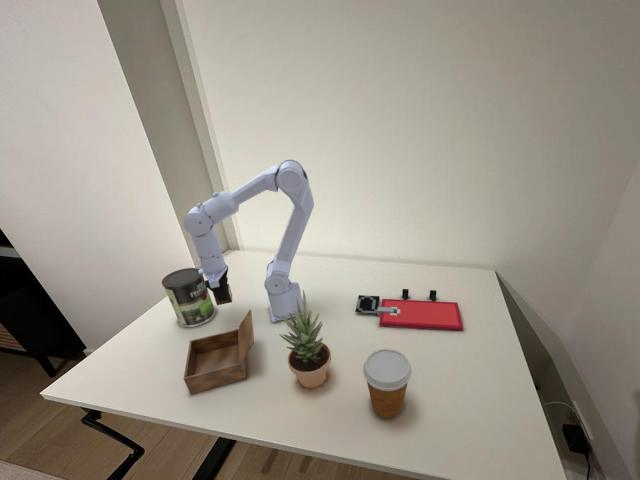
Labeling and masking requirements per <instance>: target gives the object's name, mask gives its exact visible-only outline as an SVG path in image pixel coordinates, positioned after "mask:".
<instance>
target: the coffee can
mask: <svg viewBox="0 0 640 480" xmlns="http://www.w3.org/2000/svg"><path fill="white" fill-rule="evenodd" d="M199 269H200V268H198V267H186V268H181V269H177V270H174V271H172V272H171V273H168V274H167V275H166V276H164V277H163V278H162V280H161V285H162V287H163V289H164V290H165V292H166V293H165V294H166V295H167V297H168V299H169V302H170V304H171V306H172V309H173V311H174V313H175V316H176V318H177V320H178V324H179V325H180V326H181V327H184V328H194V327H195V328H196V327H199V326H202V325H204V324H206V323H208V322H209V321H211V320H212V319H213V318H214V317H215V315H216V309H215V306H214V304H213V301H212V298H211V295H210V291H209V289H208V288H207V287H206V286H205V281H206V280H205V276H204V274H199V272H198V271H199Z"/></svg>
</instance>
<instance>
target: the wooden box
mask: <svg viewBox="0 0 640 480" xmlns="http://www.w3.org/2000/svg"><path fill="white" fill-rule="evenodd" d="M243 380H247V367H246V356H245V357H244V359H243V360H242V362H241V361H240V346H239V328H236V329H232V330H228V331H223V332H220V333H216V334H212V335H208V336H204V337H199V338H195V339H190V340H189V344H188V349H187V356H186V362H185V368H184V374H183V381H184V383H185V385H186V388H187V389H188V392H189V394H190V395H194V394H197V393H202V392H204V391H208V390H212V389H215V388H219V387H222V386H226V385H229V384H233V383H236V382H239V381H243Z"/></svg>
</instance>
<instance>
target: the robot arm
mask: <svg viewBox="0 0 640 480" xmlns="http://www.w3.org/2000/svg"><path fill="white" fill-rule="evenodd" d="M310 185H311V184H310V181H309V177H308V173H307V171H305V169H304V167H303V166H302V164H301V163H300V162H299V161H297V160H295V159H292V158H289V159H285V160H283V161H282V162H280V164H279V163H277V164H275V165H272V166H271V167H269V168H267V169H265V170H263V171H262V172H260V173H259V174H258V175H256V176H254V177H253V178H251V179H250V180H249V181H247V182H246V183H244V184H242V185H241V186H240V187H238V188H236V189H234V190H233V191H231V192H230V191H226V190H222V191H221V192H219V191H215V192H214V193H213V194H212V197H211V198H209V199H208V200H206V201H204V202H199V203H197V204H196V206H193V208H191V209H190V210H189V211H188V213H187V214H186V215H185V216H184V218H183V221H182V224H183V228H184V229H185V231H186V232H187V233H189V234H190V236H191V240H192V243H193V245H194V248H195V252H196V255H197V257H198V260H199V263H200V266H201V268H198V269H199V271H198V272H199V274H203V276H204V278H206V280H205V286H206V287H207V289H208V290H209V291H211V292H212V294H213V293H214V295H215V296H216V298H217V299H218V300H219V302H222V301H226V300H227V289H226V286H227V284H228V282H229V278H228V272H229V265H227V264H226V261H225V258H224V255H223V251H222V248H221V244H220V241H219V238H218V235H217V232H216V229H215V226H216V225H218V224H220V223H221V222H223V221H225V220H227V219H228V218H230V217H232V216H234V215H235V214H237V213H238V212H239V210H240V205H241V204H243V203H245V202H247V201H249V200H250V199H252V198H254V197H257V196H258V195H260V194H261V193H264V192H265V191H269V192H273V193H278V192H279V190H280V191H281V192H282V193H283V194H285V195H286V196H287V197H288V198H289V200H290V201H291V203H292V205H293V207H292V209H291V212H290V215H289V218H288V220H287V223H286V226H285V228H284V232H283V233H282V237H281V239H280V243H279V244H278V248H277V251H276V253H275V254H274V256H273V258H272V260H271V261H269V263H268V264H267V265H266V274H265V280H264V281H263V282H264V284H263V286H264V289H265V290H266V293H267V298H268V301H269V311H270V317H271V322H272V323H275V322H280V321H285V320H284V318H283V316H284V317H285V318H286V319H287V320H288V319H291V317H290V315H289V313H290V314H291V315H292V317H293V318H295V315H294V310H295V311H296V313H297V315H298V309H297V299H298V302H299V305H300V308H301V312H302V315H303V316H304V304H303V302H304V300H303V295H302V292H301V288H300V283H299V282H298V281H297V282H296V281H295V282H292V281H291V280H290V279H289V276H290V272H291V267H292V263H293V260H294V259H295V255H296V253H297V251H298V248H299V245H300V243H301V240H302V238H303V235H304V233H305V230H306V227H307V225H308V222H309V220H310V217H311V215H312V213H313V209H314V208H315V207H314V206H315V201H314V197H313V193H312V189H311V186H310ZM214 295H213V296H214Z"/></svg>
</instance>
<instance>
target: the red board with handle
mask: <svg viewBox="0 0 640 480" xmlns="http://www.w3.org/2000/svg"><path fill="white" fill-rule="evenodd" d="M409 291H410V290H409V288H402V293H401V297H402V299H398V298H397V299H395V298H381V305H380V306H379V304H380V295H363V294H358V297H357V301H356V306H355V310H354V313H363V314H376V315H377V317H379V323H378V324H379V325H378V326H379V327H393V328H397V327H398V328H411V329H413V328H414V329H430V330H431V329H432V330H443V331H461V332H463V330H464V326H463V321H462V317H461V312H460V307H459V303H458V302H457V301H455V302H454V301H437V289H436V290H434V289H430V290H429V296H428V298H429V300H418V299H417V300H415V299H414V300H413V299H409Z"/></svg>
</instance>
